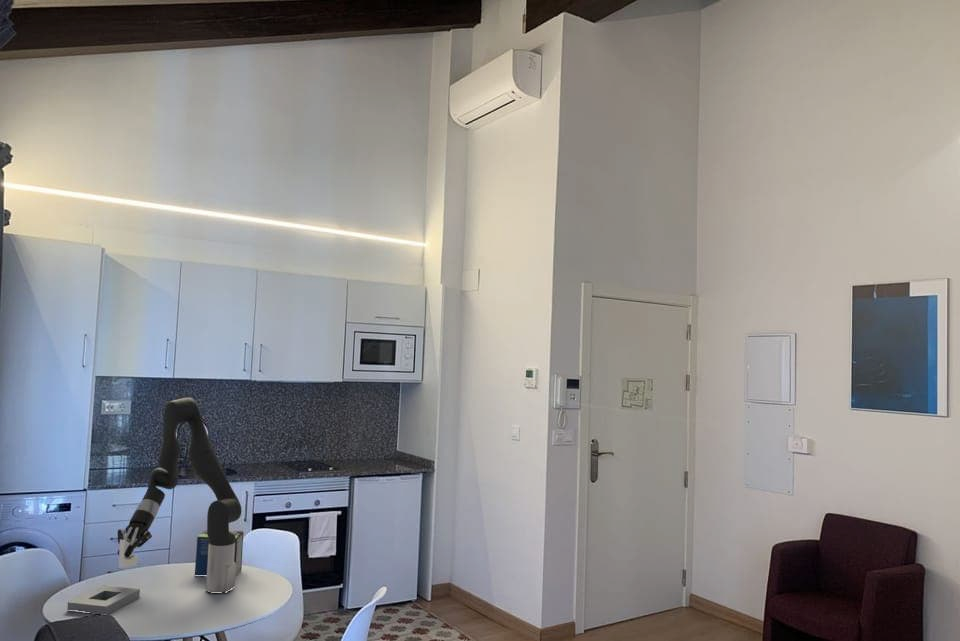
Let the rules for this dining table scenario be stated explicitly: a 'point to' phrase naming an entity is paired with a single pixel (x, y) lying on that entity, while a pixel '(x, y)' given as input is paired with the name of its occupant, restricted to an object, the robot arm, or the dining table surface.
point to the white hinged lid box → (126, 561)
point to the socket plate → (104, 599)
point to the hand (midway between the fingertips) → (123, 555)
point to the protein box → (203, 552)
